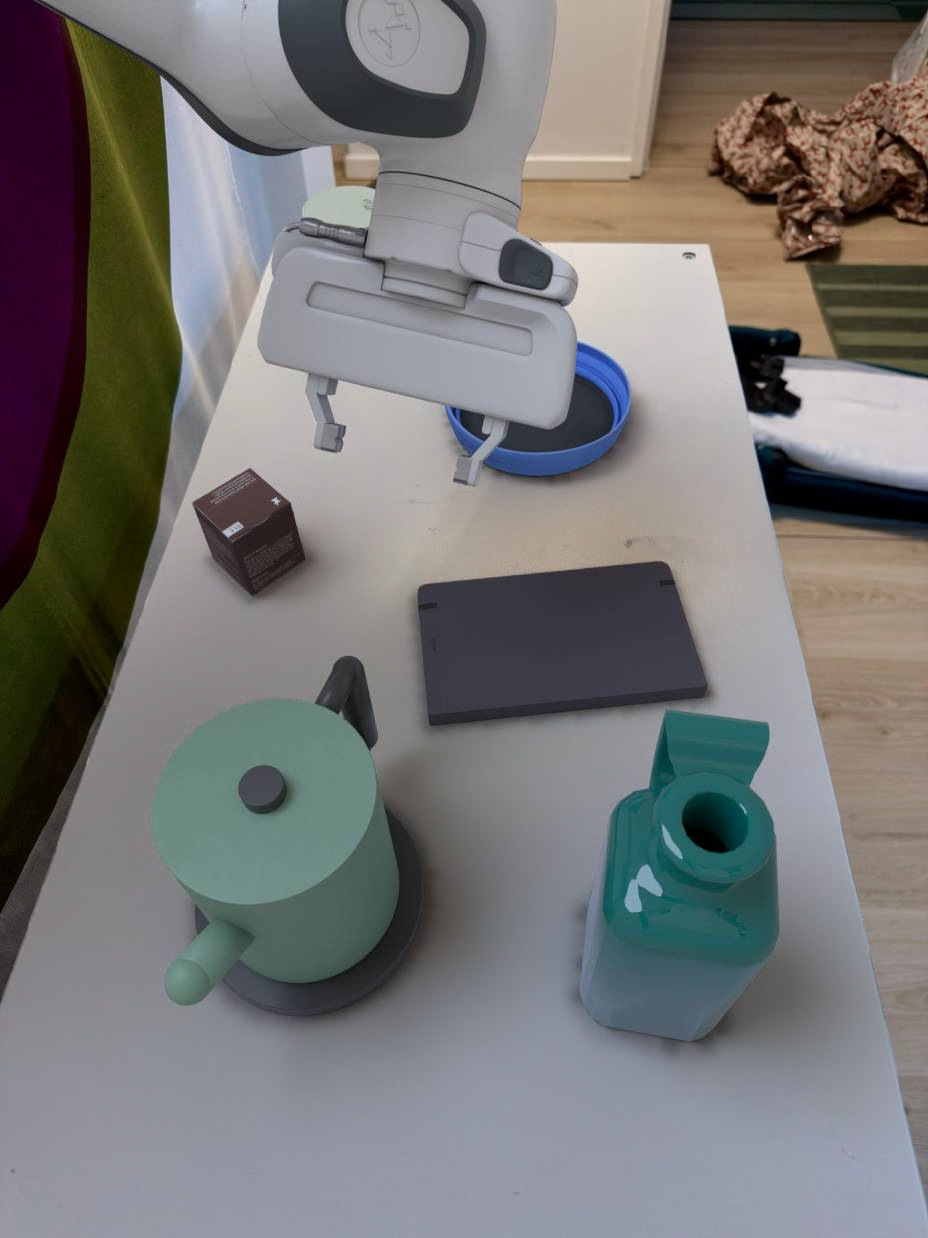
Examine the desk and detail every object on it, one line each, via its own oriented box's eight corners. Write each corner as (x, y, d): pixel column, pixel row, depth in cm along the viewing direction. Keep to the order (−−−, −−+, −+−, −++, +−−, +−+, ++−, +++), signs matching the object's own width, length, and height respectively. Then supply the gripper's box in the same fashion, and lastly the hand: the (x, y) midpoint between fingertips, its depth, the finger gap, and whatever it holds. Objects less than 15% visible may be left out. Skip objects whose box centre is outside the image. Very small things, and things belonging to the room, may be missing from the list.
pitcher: (716, 1048, 54) (821, 929, 37) (576, 1023, 55) (612, 896, 38) (717, 891, 60) (809, 723, 42) (590, 871, 61) (628, 699, 43)
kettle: (322, 1090, 52) (269, 1029, 40) (143, 1016, 55) (44, 938, 43) (452, 773, 64) (441, 652, 52) (300, 725, 67) (257, 600, 55)
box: (268, 525, 81) (251, 465, 75) (308, 561, 79) (293, 502, 73) (212, 560, 79) (189, 501, 73) (251, 599, 76) (230, 541, 70)
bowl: (655, 461, 85) (661, 433, 82) (471, 499, 83) (470, 470, 80) (592, 349, 95) (595, 320, 93) (427, 379, 93) (425, 350, 90)
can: (406, 323, 99) (397, 219, 90) (324, 336, 98) (305, 232, 89) (392, 277, 105) (382, 175, 95) (314, 289, 104) (296, 186, 94)
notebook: (429, 725, 68) (704, 696, 69) (427, 714, 67) (708, 685, 68) (417, 596, 76) (665, 571, 77) (416, 584, 75) (668, 559, 75)
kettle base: (201, 1038, 55) (195, 1033, 54) (199, 816, 64) (194, 807, 63) (441, 989, 57) (440, 983, 55) (406, 778, 66) (404, 769, 64)
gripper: (260, 199, 53) (227, 432, 57) (599, 273, 51) (541, 509, 55) (296, 219, 59) (264, 428, 63) (600, 285, 57) (548, 497, 61)
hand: (395, 467), depth 59 cm, fingers open, 8 cm apart
